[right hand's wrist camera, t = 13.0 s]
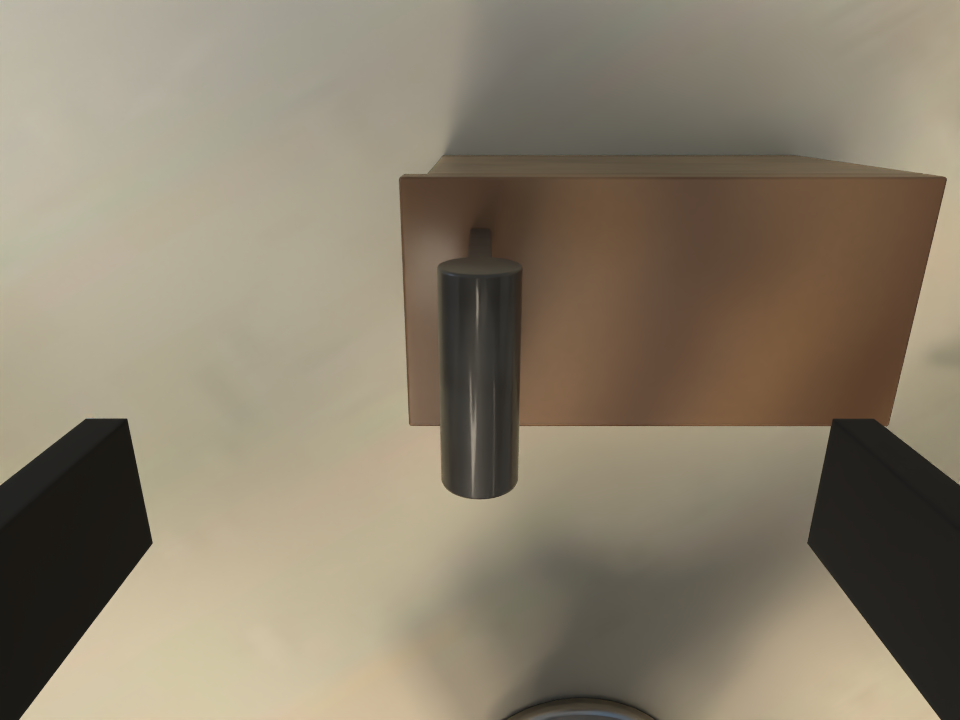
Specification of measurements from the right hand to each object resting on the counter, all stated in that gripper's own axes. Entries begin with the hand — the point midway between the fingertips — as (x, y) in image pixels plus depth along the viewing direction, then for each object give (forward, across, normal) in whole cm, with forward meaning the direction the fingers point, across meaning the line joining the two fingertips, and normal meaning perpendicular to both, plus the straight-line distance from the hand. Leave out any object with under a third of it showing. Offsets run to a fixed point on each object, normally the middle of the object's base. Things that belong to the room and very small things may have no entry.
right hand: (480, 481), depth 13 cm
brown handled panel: (+13, -6, 0) cm, 14 cm away
